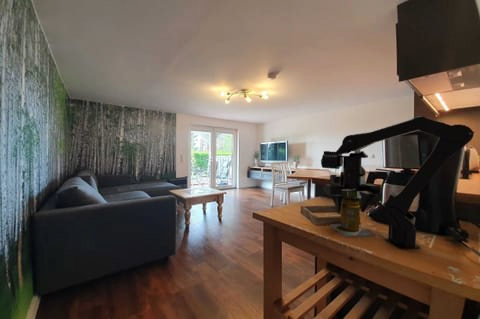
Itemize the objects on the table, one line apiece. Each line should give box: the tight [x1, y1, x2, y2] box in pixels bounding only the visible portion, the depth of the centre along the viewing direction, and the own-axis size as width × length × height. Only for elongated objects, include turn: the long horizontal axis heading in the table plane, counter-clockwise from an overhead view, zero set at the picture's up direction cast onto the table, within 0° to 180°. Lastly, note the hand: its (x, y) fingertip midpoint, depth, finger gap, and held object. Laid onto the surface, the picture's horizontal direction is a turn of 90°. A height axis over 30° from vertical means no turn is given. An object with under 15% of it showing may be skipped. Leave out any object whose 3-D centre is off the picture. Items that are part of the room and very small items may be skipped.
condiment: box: [333, 195, 364, 235], centre depth 73 cm, size 7×8×12 cm
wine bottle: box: [346, 150, 366, 210], centre depth 103 cm, size 8×8×30 cm
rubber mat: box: [329, 224, 374, 238], centre depth 74 cm, size 10×10×1 cm
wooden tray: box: [300, 204, 361, 226], centre depth 87 cm, size 16×18×3 cm
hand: (350, 212), depth 73 cm, fingers open, 9 cm apart
